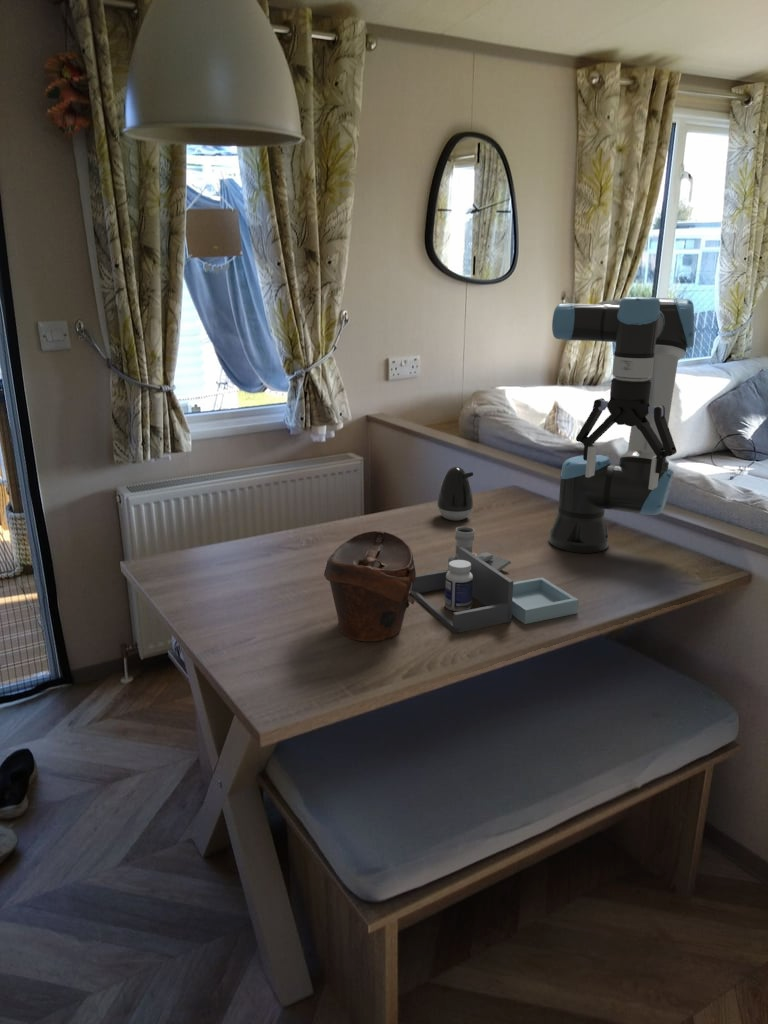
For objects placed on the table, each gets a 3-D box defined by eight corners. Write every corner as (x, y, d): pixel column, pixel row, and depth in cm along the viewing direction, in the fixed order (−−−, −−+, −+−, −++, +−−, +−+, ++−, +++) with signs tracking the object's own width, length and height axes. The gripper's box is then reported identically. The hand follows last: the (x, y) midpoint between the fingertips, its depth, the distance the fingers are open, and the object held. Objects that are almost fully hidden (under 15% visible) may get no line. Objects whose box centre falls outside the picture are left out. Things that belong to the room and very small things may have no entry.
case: (346, 659, 138) (346, 568, 133) (312, 615, 155) (311, 534, 150) (432, 642, 145) (436, 556, 139) (390, 603, 162) (392, 524, 157)
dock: (409, 592, 167) (410, 555, 164) (461, 583, 172) (462, 546, 169) (454, 633, 148) (456, 591, 145) (510, 621, 153) (513, 581, 150)
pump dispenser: (462, 526, 210) (465, 473, 205) (430, 519, 215) (432, 468, 211) (479, 516, 218) (481, 465, 213) (447, 510, 223) (449, 460, 219)
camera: (441, 527, 173) (486, 515, 182) (439, 574, 177) (484, 561, 186) (468, 537, 167) (513, 525, 176) (465, 586, 170) (510, 571, 179)
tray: (491, 599, 164) (492, 586, 163) (541, 589, 168) (542, 577, 167) (524, 624, 152) (525, 610, 151) (577, 613, 157) (578, 599, 156)
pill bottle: (475, 604, 161) (477, 561, 158) (466, 614, 156) (468, 570, 153) (450, 599, 164) (451, 556, 160) (440, 609, 159) (442, 565, 155)
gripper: (565, 374, 153) (557, 474, 159) (688, 387, 137) (674, 497, 144) (582, 370, 158) (573, 468, 165) (702, 382, 142) (688, 489, 149)
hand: (620, 482), depth 154 cm, fingers open, 13 cm apart
